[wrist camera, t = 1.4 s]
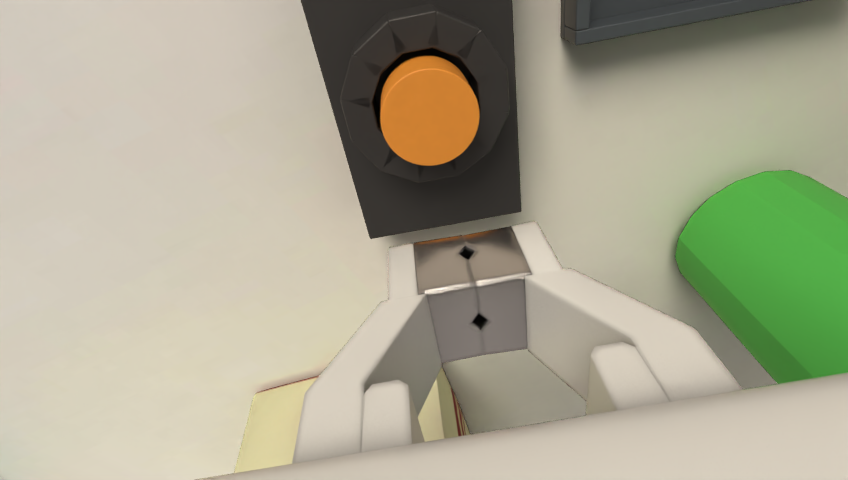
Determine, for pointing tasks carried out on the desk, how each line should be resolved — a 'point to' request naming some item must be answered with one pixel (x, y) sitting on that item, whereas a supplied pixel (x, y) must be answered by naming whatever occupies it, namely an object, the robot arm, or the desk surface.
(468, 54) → the button base
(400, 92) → the orange button cap
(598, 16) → the soap tray
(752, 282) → the bottle
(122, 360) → the desk surface
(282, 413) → the gift box
